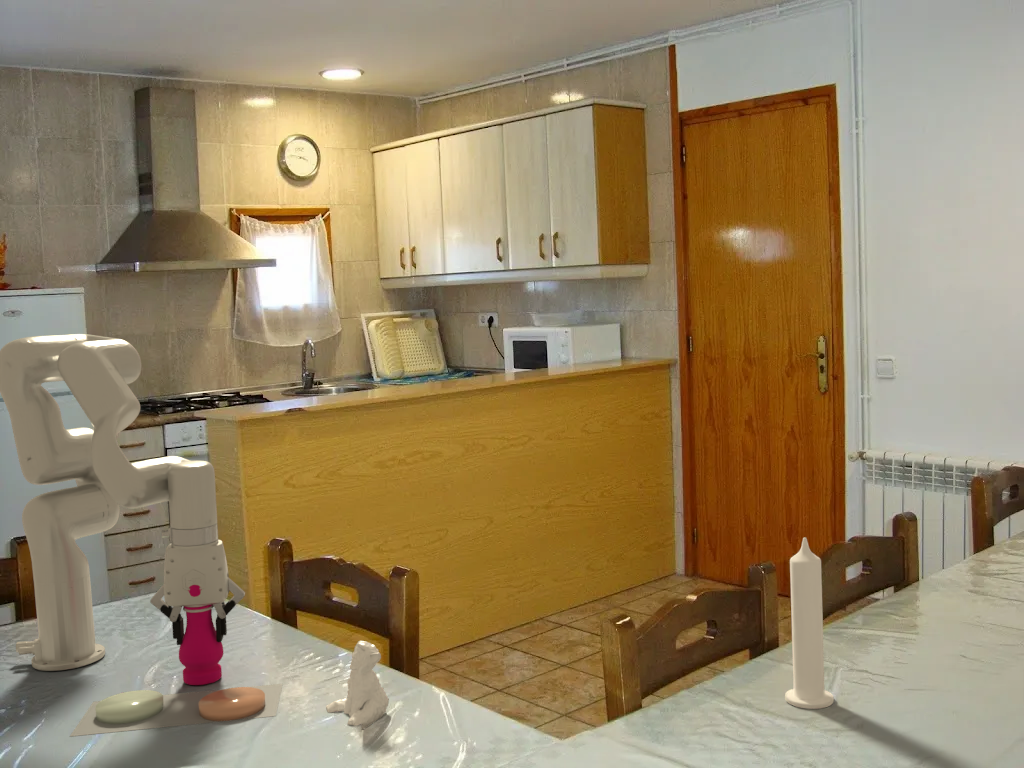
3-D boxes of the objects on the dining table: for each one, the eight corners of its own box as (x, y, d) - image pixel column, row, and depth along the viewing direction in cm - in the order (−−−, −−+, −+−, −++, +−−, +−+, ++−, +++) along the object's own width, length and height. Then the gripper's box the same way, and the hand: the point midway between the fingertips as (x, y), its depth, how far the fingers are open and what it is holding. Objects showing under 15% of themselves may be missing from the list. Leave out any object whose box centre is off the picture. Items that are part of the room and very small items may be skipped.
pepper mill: (212, 687, 174) (205, 568, 172) (172, 685, 176) (165, 567, 174) (232, 671, 181) (226, 557, 179) (193, 669, 183) (187, 556, 181)
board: (70, 744, 157) (69, 736, 157) (94, 708, 171) (93, 701, 171) (276, 723, 161) (275, 715, 161) (283, 690, 175) (282, 683, 175)
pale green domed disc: (88, 727, 160) (88, 717, 160) (104, 702, 170) (104, 693, 170) (157, 720, 161) (156, 710, 161) (169, 696, 171) (168, 687, 171)
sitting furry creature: (322, 717, 163) (317, 641, 162) (371, 702, 168) (366, 628, 167) (352, 735, 155) (347, 655, 154) (402, 719, 161) (398, 641, 160)
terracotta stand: (194, 724, 159) (193, 714, 159) (204, 699, 169) (203, 690, 169) (262, 717, 161) (261, 707, 160) (268, 693, 170) (267, 684, 170)
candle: (834, 693, 162) (830, 532, 160) (832, 711, 155) (828, 543, 153) (787, 690, 164) (782, 531, 162) (783, 707, 158) (778, 542, 156)
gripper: (136, 544, 171) (142, 652, 173) (245, 537, 174) (250, 644, 175) (145, 533, 179) (151, 637, 180) (249, 527, 181) (255, 630, 183)
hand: (200, 640), depth 178 cm, fingers closed on pepper mill, 5 cm apart
